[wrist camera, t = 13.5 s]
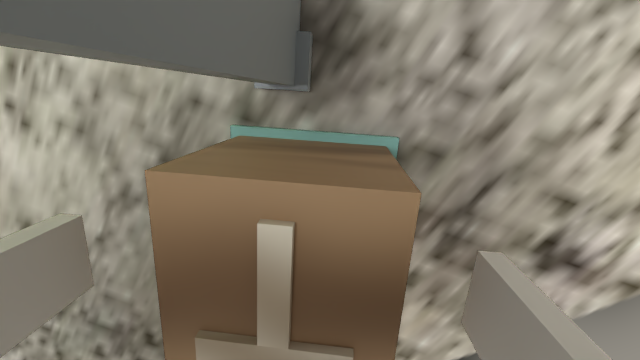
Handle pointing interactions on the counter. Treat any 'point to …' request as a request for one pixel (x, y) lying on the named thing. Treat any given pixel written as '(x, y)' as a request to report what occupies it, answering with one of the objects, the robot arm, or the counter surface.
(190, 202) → the cube
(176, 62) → the screen
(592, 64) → the counter surface
